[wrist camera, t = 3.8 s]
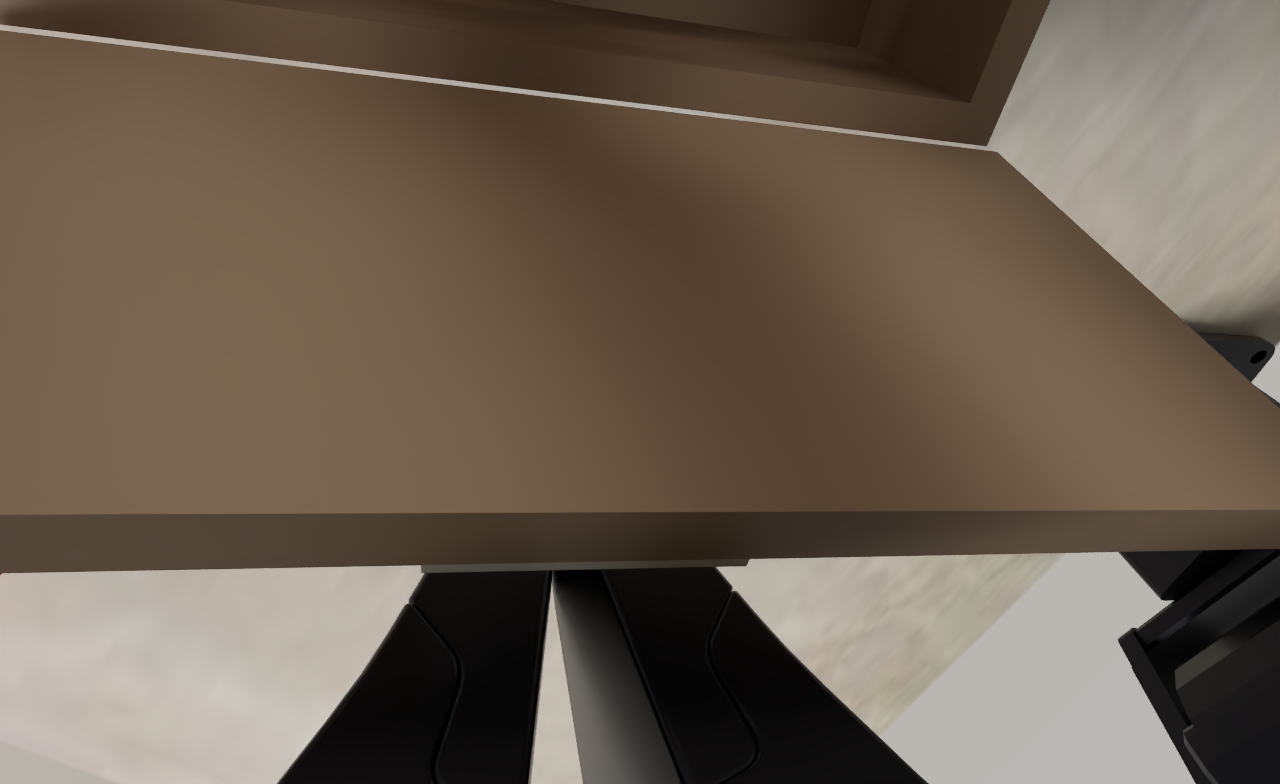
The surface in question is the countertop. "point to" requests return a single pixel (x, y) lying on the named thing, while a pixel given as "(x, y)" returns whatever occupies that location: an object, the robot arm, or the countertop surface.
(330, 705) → the countertop surface
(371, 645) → the countertop surface
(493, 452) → the lid
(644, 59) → the box
